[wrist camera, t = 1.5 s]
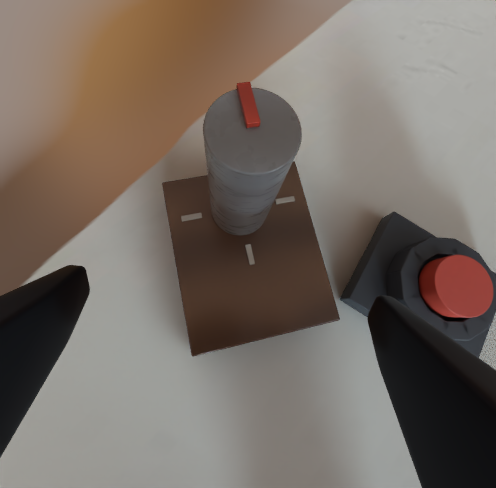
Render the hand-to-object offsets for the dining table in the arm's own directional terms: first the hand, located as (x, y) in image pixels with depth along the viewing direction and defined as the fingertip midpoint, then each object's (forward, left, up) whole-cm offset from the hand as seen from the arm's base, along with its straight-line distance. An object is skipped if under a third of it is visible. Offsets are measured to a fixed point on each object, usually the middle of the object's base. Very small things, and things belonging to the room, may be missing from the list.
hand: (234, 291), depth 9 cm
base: (+1, -4, -13) cm, 13 cm away
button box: (-12, -9, -12) cm, 20 cm away
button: (-12, -9, -9) cm, 18 cm away
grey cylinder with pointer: (+3, -6, -10) cm, 12 cm away
